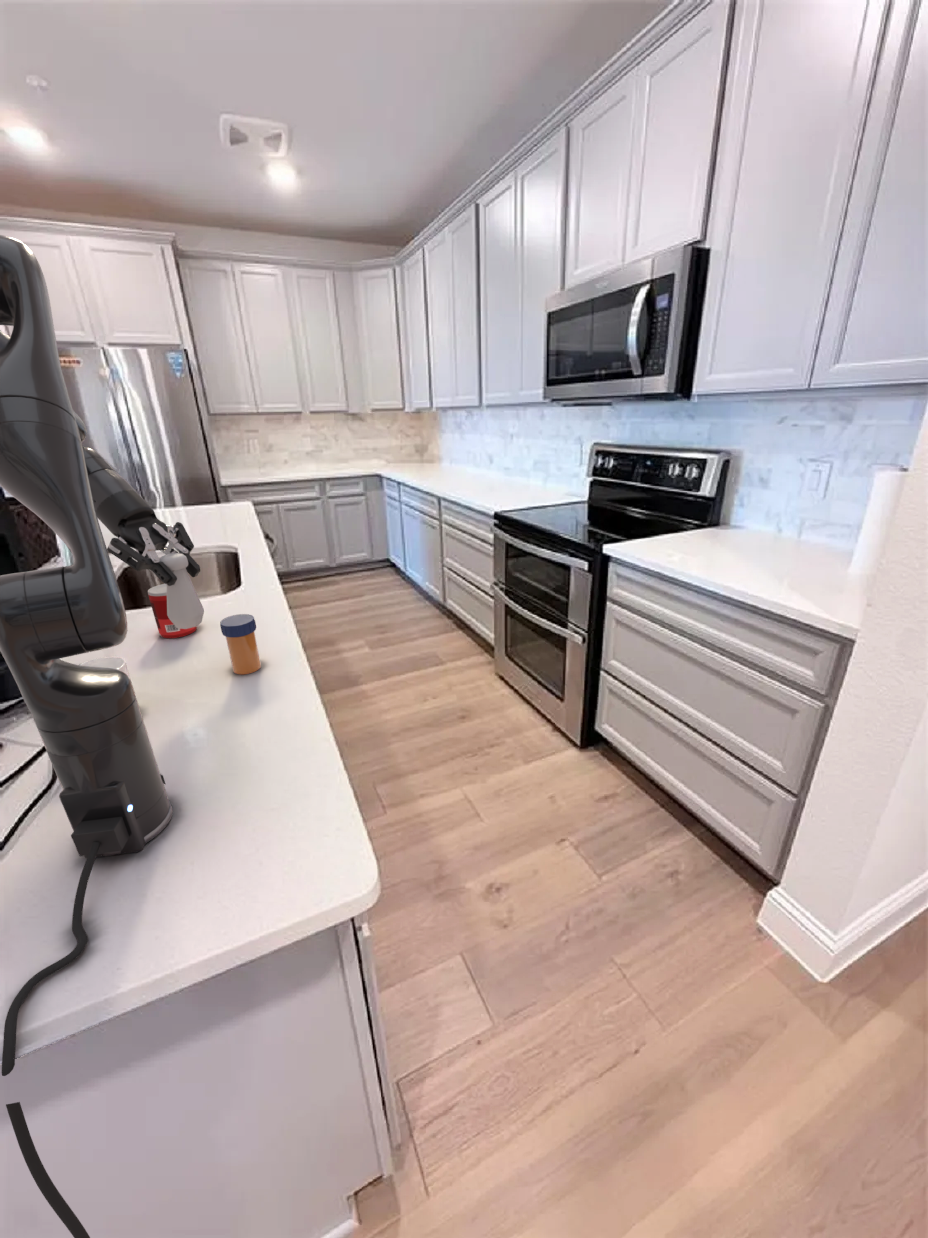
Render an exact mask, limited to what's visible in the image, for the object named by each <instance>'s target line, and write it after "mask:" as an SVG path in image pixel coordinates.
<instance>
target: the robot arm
mask: <svg viewBox="0 0 928 1238" xmlns="http://www.w3.org/2000/svg"><path fill="white" fill-rule="evenodd" d="M0 326H11V327H12V331H11V334H10V336H9V335H8V334H7V333H5V332H4V331H2V330H0V487H1V488H2V489H3V490H4V491H6V492H7V493H8V494H9V495H11V497H13V498H14V499H16V500H17V501H18V502H19V503H21V504H22V505H23V506H24V507H26V508H27V509H28V510H30V511H31V512H32V513H34V514H35V515H36V516H37V517H38V518H40V520H42V521H43V522H44V523H45V524H46V525H47V526H48V527H49V528H50V529H51V530H52V532H54V533H55V534H56V535H57V536H58V538H59V539H60V540H61V541H62V542H63V543H64V545H65V546H66V547H67V548H68V550H69V551H70V552H71V554H72V557H73V563H72V564H70V565H65V566H56V567H50V568H42V569H35V570H29V571H28V570H27V571H21V572H14V573H7V574H2V575H1V574H0V654H1V655H2V657H3V658H4V661H5V663H6V665H7V667H8V669H9V671H10V674H11V675H12V677H13V679H14V681H15V683H16V685H17V688H18V690H19V691H20V694H21V696H22V699H23V701H24V704H25V705H26V708H27V709H28V711H29V712H30V714H31V716H32V719H33V721H34V724H35V727H36V729H37V732H38V734H39V736H40V739H41V741H42V743H43V746H44V748H45V751H46V753H47V755H48V758H49V760H50V763H51V766H52V768H53V770H54V772H55V776H56V777H57V780H58V782H59V785H60V787H61V789H62V790H61V791H60V793H59V795H58V798H59V800H60V803H61V805H62V807H63V810H64V812H65V814H66V817H67V819H68V822H69V824H70V826H71V829H72V833H71V834H70V837H71V839H72V841H73V844H74V846H75V849H76V851H77V853H78V857H84V859H86V860H85V862H84V865H83V868H82V871H81V873H80V877H79V880H78V883H77V888H76V891H75V897H74V902H73V908H72V919H71V930H72V933H73V935H74V938H75V939H76V940H77V944H76V945H75V947H74V948H73V949H72V950H71V951H70V953H68V954H67V955H65V956H63V957H62V958H61V959H59V960H57V961H55V962H53V963H52V964H49V965H48V966H46V967H45V968H42V969H41V970H39V971H38V972H36V973H35V974H34V975H33V976H31V978H29V980H28V981H26V982H25V984H23V986H22V987H21V988H20V990H19V991H18V992H17V994H16V995H15V997H14V999H13V1000H12V1002H11V1004H10V1006H9V1008H8V1011H7V1013H6V1017H5V1021H4V1027H3V1042H2V1057H1V1076H2V1077H6V1076H8V1075H10V1074H11V1072H12V1071H13V1070H14V1067H15V1065H16V1049H17V1048H16V1047H17V1046H16V1045H17V1029H18V1028H17V1027H18V1026H17V1025H18V1017H19V1012H20V1010H21V1008H22V1006H23V1004H24V1002H25V1000H26V999H27V997H28V996H29V995H30V994H31V992H33V991H32V990H33V989H34V988H35V987H36V986H37V985H39V984H40V982H42V981H44V980H45V979H46V978H48V977H50V976H51V975H53V974H55V973H57V972H58V971H61V970H62V969H64V968H65V967H67V966H68V965H70V964H72V963H73V962H74V961H75V960H76V959H77V958H78V957H80V955H81V954H82V953H83V952H84V951H85V948H86V947H87V944H88V941H89V938H88V934H87V932H86V930H85V929H84V927H83V912H84V911H83V910H84V902H85V897H86V893H87V892H86V891H87V888H88V883H89V879H90V875H91V873H92V869H93V867H94V864H95V862H96V858H100V857H101V858H102V857H109V856H117V855H122V854H130V853H137V852H141V851H142V850H143V849H144V847H145V846H146V845H147V843H148V842H150V841H151V840H153V839H154V838H156V837H157V836H158V835H159V834H160V833H161V832H162V831H164V829H166V827H167V826H168V824H169V823H170V821H171V819H172V816H173V807H172V803H171V801H170V799H169V798H168V793H167V791H166V788H165V786H166V785H167V783H166V780H165V778H164V775H163V774H162V773H161V772H160V769H159V765H158V763H157V760H156V756H155V753H154V750H153V747H152V743H151V740H150V737H149V734H148V731H147V728H146V724H145V721H144V718H143V714H142V712H141V708H140V705H139V702H138V699H137V695H136V691H135V689H134V685H133V682H132V680H131V677H130V678H129V677H128V676H127V675H126V674H125V673H124V672H122V671H120V670H117V669H112V668H104V667H89V666H81V665H79V664H77V663H76V664H75V663H72V662H68V661H65V660H62V659H65V658H69V657H74V656H78V655H83V654H88V653H89V652H90V653H92V652H96V651H103V650H105V649H110V648H113V647H117V646H120V645H122V643H124V641H125V640H126V638H127V635H128V619H127V613H126V608H125V604H124V600H123V597H122V593H121V589H120V586H119V582H118V579H117V576H116V574H115V570H114V568H113V564H112V561H111V558H110V554H111V555H113V556H114V557H116V558H117V559H118V560H120V561H121V562H123V563H125V564H126V565H128V566H129V567H130V568H132V569H134V570H135V571H137V572H142V571H144V570H147V571H149V572H152V573H153V574H154V575H155V576H156V577H157V578H158V579H159V580H160V582H162V584H167V585H168V586H171V585H174V584H175V582H176V580H177V577H176V576H175V575H174V573H173V572H172V571H171V570H170V569H169V568H168V567H167V566H166V565H165V564H164V563H163V562H159V561H160V557H159V556H158V555H159V554H158V553H157V551H160V552H161V553H163V554H164V555H167V554H171V553H180V554H183V555H185V556H186V557H187V560H188V566H187V567H186V570H187V572H188V575H189V576H190V577H191V578H196V577H198V576H199V574H200V573H201V566H200V564H198V562H197V561H196V560H195V559H194V558H193V557H192V556H191V553H192V551H193V549H194V548H195V545H194V543H193V541H192V539H191V537H190V535H189V533H188V532H187V530H186V528H185V526H184V525H183V523H182V522H180V521H176V522H175V524H166V523H165V522H164V521H162V520H161V519H159V518H158V517H157V515H156V513H155V510H154V509H153V507H152V506H151V505H150V504H149V503H148V502H147V501H146V500H145V499H144V498H143V497H142V496H141V494H140V493H139V492H137V491H136V489H135V488H134V487H133V486H132V485H131V484H130V483H129V482H128V481H127V480H126V479H125V478H124V477H123V476H121V475H120V474H119V473H118V472H117V470H115V468H113V467H112V466H111V465H110V464H109V462H108V461H107V460H106V459H105V458H104V457H103V456H102V455H101V454H100V453H99V452H98V451H97V450H95V449H94V448H91V447H88V446H87V447H86V446H83V442H85V440H86V438H87V435H88V430H87V426H86V424H85V423H84V421H83V420H82V418H81V417H80V416H79V414H77V413H76V412H75V411H74V409H73V405H72V402H71V398H70V394H69V392H68V388H67V385H66V384H67V383H66V380H65V377H64V374H63V370H62V365H61V362H60V355H59V350H58V344H57V337H56V332H55V325H54V318H53V312H52V306H51V300H50V295H49V290H48V286H47V282H46V278H45V275H44V272H43V270H42V266H41V265H40V262H39V261H38V258H37V257H36V255H35V254H34V252H33V250H32V249H31V248H30V247H29V246H28V245H27V244H26V243H24V242H23V241H21V240H19V239H17V238H14V237H12V236H8V235H3V234H0ZM99 521H100V522H101V523H102V525H104V526H105V528H107V530H108V531H109V532H110V533H111V534H112V535H113V536H114V537H112V538H111V539H110V542H109V544H108V545H106V542H105V539H104V535H103V532H102V529H101V526H100V522H99ZM5 1107H6V1110H7V1113H8V1116H9V1120H10V1123H11V1126H12V1129H13V1132H14V1134H15V1138H16V1142H17V1144H18V1146H19V1149H20V1151H21V1155H22V1157H23V1159H24V1162H25V1164H26V1166H27V1168H28V1171H29V1173H30V1175H31V1177H32V1178H33V1180H34V1182H35V1184H36V1186H37V1187H38V1190H39V1191H40V1192H41V1194H42V1196H43V1198H44V1199H45V1200H46V1202H47V1203H48V1205H49V1206H50V1207H51V1209H52V1210H53V1211H54V1213H55V1214H56V1215H57V1217H58V1218H59V1219H60V1221H61V1222H62V1223H63V1225H64V1227H66V1229H67V1230H68V1231H69V1233H70V1234H71V1236H72V1237H73V1238H91V1236H90V1235H89V1233H88V1231H87V1230H86V1228H85V1227H84V1225H83V1224H82V1222H81V1221H80V1219H79V1218H78V1216H77V1215H76V1214H75V1212H74V1211H73V1210H72V1208H71V1206H70V1205H69V1204H68V1203H67V1201H66V1199H64V1197H63V1196H62V1194H61V1193H60V1191H59V1189H57V1187H56V1185H55V1184H54V1182H53V1180H52V1179H51V1177H50V1176H49V1174H48V1172H47V1170H46V1168H45V1166H44V1164H43V1162H42V1160H41V1158H40V1156H39V1154H38V1151H37V1148H36V1146H35V1143H34V1141H33V1138H32V1136H31V1133H30V1130H29V1127H28V1124H27V1120H26V1117H25V1114H24V1111H23V1107H22V1105H21V1102H20V1101H17V1102H12V1103H7V1104H5Z"/></svg>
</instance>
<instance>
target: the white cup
mask: <svg viewBox="0 0 928 1238" xmlns="http://www.w3.org/2000/svg"><path fill="white" fill-rule="evenodd" d="M78 665H81V666H89V667H104V668H112V669H117V670H120V671H122V672H124V673H125V674H126V675H127V676H128V677H129V678H130V679H131V677H130V673H129V669H128V665H127V661H126V659H125V658H124V657H121V656H104V657H97V658H93V659H90V660H87V661H84V662H82V663H79V664H78Z"/></svg>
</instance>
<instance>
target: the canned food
mask: <svg viewBox="0 0 928 1238" xmlns="http://www.w3.org/2000/svg"><path fill="white" fill-rule="evenodd" d="M147 595H148V599H149V602H150V606H151V610H152V613H153V617H154V621H155V624H156V627H157V631H158V634H159V635H160V637H162V638H164V639H178V638H182V637H187V636H189V635H191V634H193V633H194V632H196V630H197V629H198V628H197V627H198V626H196V627H192V628H188V629H180V628H177V627H176V626H175V625H174V624H173V623H172V622H171V620H170V619H169V618H168V616H167V584H165V583H161V584H158V585H154V586H152V587H150V588H149V589H148V590H147Z"/></svg>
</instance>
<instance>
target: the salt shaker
mask: <svg viewBox="0 0 928 1238" xmlns="http://www.w3.org/2000/svg"><path fill="white" fill-rule="evenodd" d="M159 559H160V561H159V562H163V563H164V564H165V565H166V566H167V567H168V568H169V569H170V570H171V571H172V572H173V573H174V575H175V576H176V577H177V580H176V582H175V584H174V585H171V586H168V585H167V616H168V618H169V619H170V620H171V622H172V623H173V624H174V625H175V626H176V627H177V628H180V629H188V628H192V627H196V626H197V627H198V626H199V625H200V624H202V622H203V618H204V613H205V609H204V606H203V604H202V602H201V600H200V597H199V595H198V592H197V591H196V588H195V586H194V584H193V582H192V579H191V576H190V574H189V573H188V572H187V570H186V567H187V566H188V560H187V557H186V556H185V555H183V554H180V553H179V552H178V553H171V554H167V555H166V554H164V555H161V557H159Z"/></svg>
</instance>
